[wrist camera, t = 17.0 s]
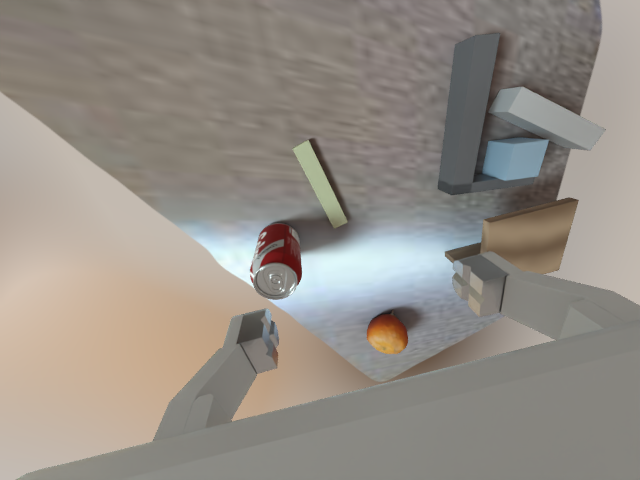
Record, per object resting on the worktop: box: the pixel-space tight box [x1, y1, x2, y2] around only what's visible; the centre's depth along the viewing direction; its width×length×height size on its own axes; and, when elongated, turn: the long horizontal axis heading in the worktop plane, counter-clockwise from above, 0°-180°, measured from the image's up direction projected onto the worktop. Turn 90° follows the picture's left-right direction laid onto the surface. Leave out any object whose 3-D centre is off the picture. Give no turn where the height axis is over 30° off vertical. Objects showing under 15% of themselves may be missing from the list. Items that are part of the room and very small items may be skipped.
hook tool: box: [438, 33, 535, 195], centre depth 34 cm, size 19×13×4 cm
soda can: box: [250, 223, 302, 300], centre depth 36 cm, size 7×7×12 cm
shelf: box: [445, 198, 578, 274], centre depth 39 cm, size 12×12×10 cm
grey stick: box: [488, 87, 606, 150], centre depth 35 cm, size 16×3×4 cm, turn 71°
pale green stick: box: [293, 140, 348, 229], centre depth 37 cm, size 14×2×2 cm, turn 26°
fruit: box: [367, 310, 408, 354], centre depth 50 cm, size 8×8×8 cm
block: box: [482, 137, 549, 181], centre depth 37 cm, size 5×5×5 cm
